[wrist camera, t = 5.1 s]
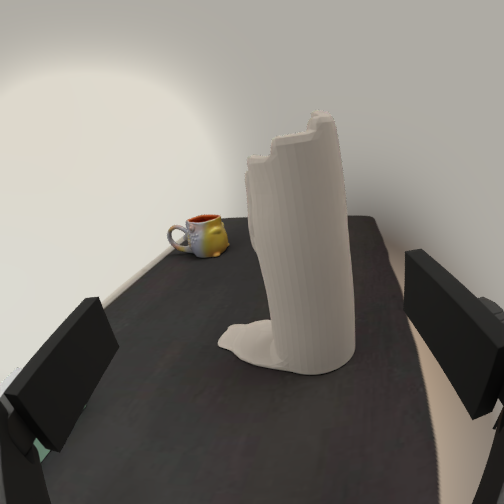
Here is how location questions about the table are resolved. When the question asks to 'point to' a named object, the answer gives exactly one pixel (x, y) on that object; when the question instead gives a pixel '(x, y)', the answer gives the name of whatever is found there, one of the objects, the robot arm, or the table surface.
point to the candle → (300, 254)
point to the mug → (202, 236)
